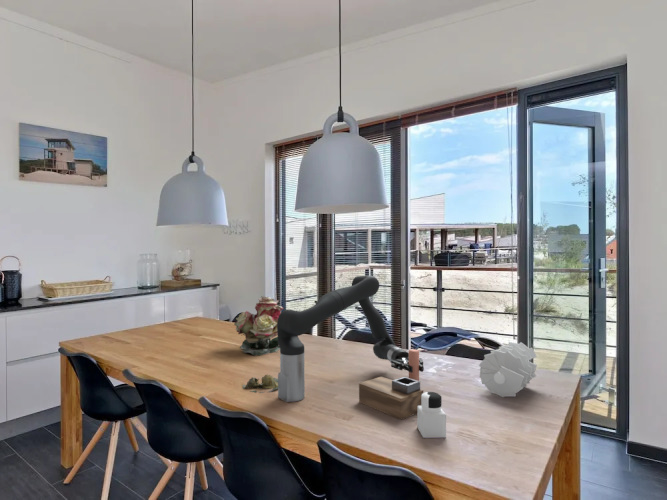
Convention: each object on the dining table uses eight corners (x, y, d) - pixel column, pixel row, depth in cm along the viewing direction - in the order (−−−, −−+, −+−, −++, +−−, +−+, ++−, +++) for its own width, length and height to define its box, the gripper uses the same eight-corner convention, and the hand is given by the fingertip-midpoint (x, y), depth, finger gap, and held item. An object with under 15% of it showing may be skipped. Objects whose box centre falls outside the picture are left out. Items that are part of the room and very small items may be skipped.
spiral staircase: (487, 406, 153) (507, 385, 173) (532, 396, 143) (547, 375, 162) (466, 360, 158) (487, 345, 177) (508, 348, 147) (526, 333, 167)
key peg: (414, 394, 153) (414, 352, 153) (406, 391, 156) (406, 350, 156) (421, 391, 156) (421, 350, 156) (413, 389, 159) (413, 348, 159)
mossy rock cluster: (294, 384, 170) (294, 371, 170) (267, 397, 154) (267, 383, 154) (262, 377, 179) (262, 365, 179) (233, 389, 163) (233, 375, 163)
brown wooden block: (401, 419, 133) (401, 389, 132) (359, 402, 148) (359, 375, 148) (423, 410, 140) (423, 381, 140) (381, 394, 156) (381, 368, 155)
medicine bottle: (439, 427, 127) (439, 389, 127) (446, 437, 120) (446, 398, 120) (417, 427, 127) (417, 389, 127) (422, 438, 120) (422, 398, 120)
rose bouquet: (231, 347, 229) (231, 295, 229) (279, 342, 243) (279, 292, 242) (242, 358, 207) (242, 300, 206) (295, 351, 220) (295, 297, 220)
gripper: (383, 349, 168) (400, 361, 151) (414, 347, 171) (434, 358, 155) (383, 367, 168) (400, 380, 151) (414, 365, 172) (433, 377, 155)
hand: (417, 369), depth 153 cm, fingers closed on key peg, 4 cm apart
